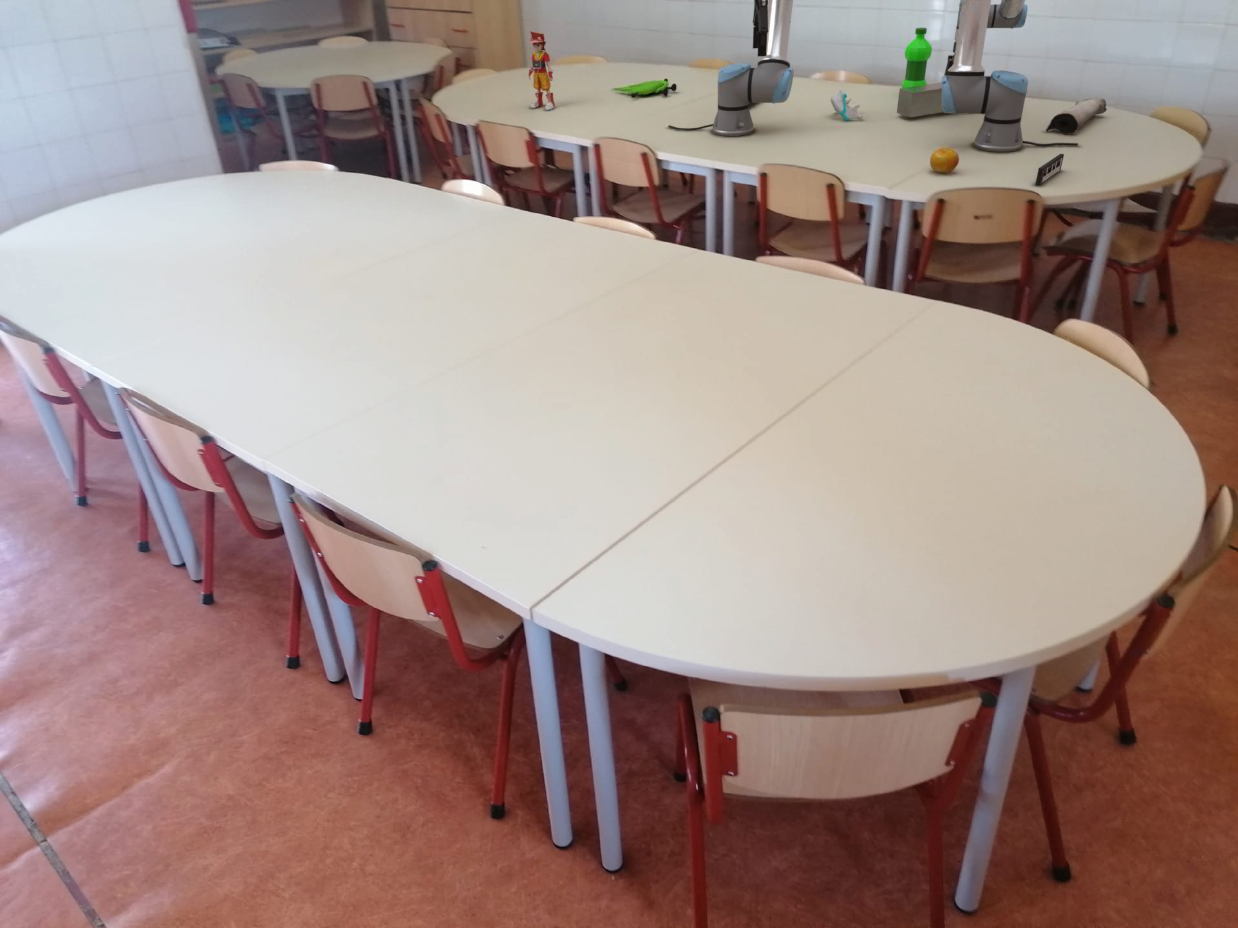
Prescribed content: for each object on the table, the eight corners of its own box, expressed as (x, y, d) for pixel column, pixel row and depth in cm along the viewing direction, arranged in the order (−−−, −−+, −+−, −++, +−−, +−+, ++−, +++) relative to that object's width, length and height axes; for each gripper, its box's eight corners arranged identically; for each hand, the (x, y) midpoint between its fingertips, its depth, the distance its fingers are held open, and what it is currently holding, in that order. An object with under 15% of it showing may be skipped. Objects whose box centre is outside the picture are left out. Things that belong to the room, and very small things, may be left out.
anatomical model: (825, 90, 346) (851, 83, 346) (828, 117, 352) (853, 110, 352) (836, 99, 334) (863, 92, 333) (839, 127, 340) (865, 120, 339)
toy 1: (525, 109, 381) (517, 32, 364) (534, 104, 388) (527, 28, 371) (550, 110, 377) (543, 32, 360) (559, 105, 384) (553, 28, 367)
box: (909, 117, 334) (912, 92, 330) (896, 113, 341) (899, 88, 336) (969, 108, 341) (973, 83, 336) (955, 103, 348) (959, 79, 343)
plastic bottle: (931, 95, 365) (940, 28, 351) (913, 100, 361) (922, 32, 346) (911, 91, 372) (920, 25, 358) (894, 96, 368) (902, 29, 353)
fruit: (924, 163, 281) (941, 140, 278) (925, 165, 289) (941, 143, 286) (946, 178, 280) (963, 155, 277) (947, 180, 288) (963, 158, 285)
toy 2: (686, 85, 398) (631, 84, 414) (685, 72, 395) (629, 72, 411) (651, 104, 381) (596, 103, 397) (650, 92, 378) (594, 91, 394)
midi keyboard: (1039, 185, 269) (1043, 168, 266) (1035, 184, 270) (1038, 168, 267) (1060, 170, 279) (1064, 154, 277) (1056, 169, 280) (1060, 153, 277)
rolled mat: (1073, 103, 332) (1098, 85, 324) (1087, 124, 332) (1112, 107, 324) (1041, 125, 315) (1067, 107, 306) (1056, 147, 315) (1082, 129, 307)
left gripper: (779, -17, 271) (776, 59, 283) (768, -27, 291) (766, 44, 303) (754, -15, 271) (752, 60, 283) (745, -25, 292) (743, 45, 304)
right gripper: (992, 44, 323) (981, 110, 336) (955, 36, 340) (946, 99, 352) (974, 46, 321) (964, 112, 334) (938, 38, 338) (929, 101, 351)
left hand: (759, 52), depth 293 cm, fingers open, 13 cm apart
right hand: (955, 105), depth 343 cm, fingers closed on box, 8 cm apart
